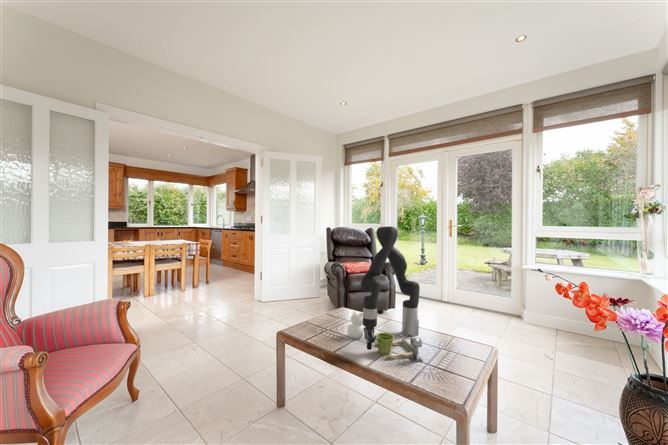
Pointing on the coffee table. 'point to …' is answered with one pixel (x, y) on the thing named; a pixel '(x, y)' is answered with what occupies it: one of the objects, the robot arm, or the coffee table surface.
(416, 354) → the winch post
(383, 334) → the plant pot
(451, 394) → the coffee table surface
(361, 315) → the cat figurine
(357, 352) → the coffee table surface
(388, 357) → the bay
